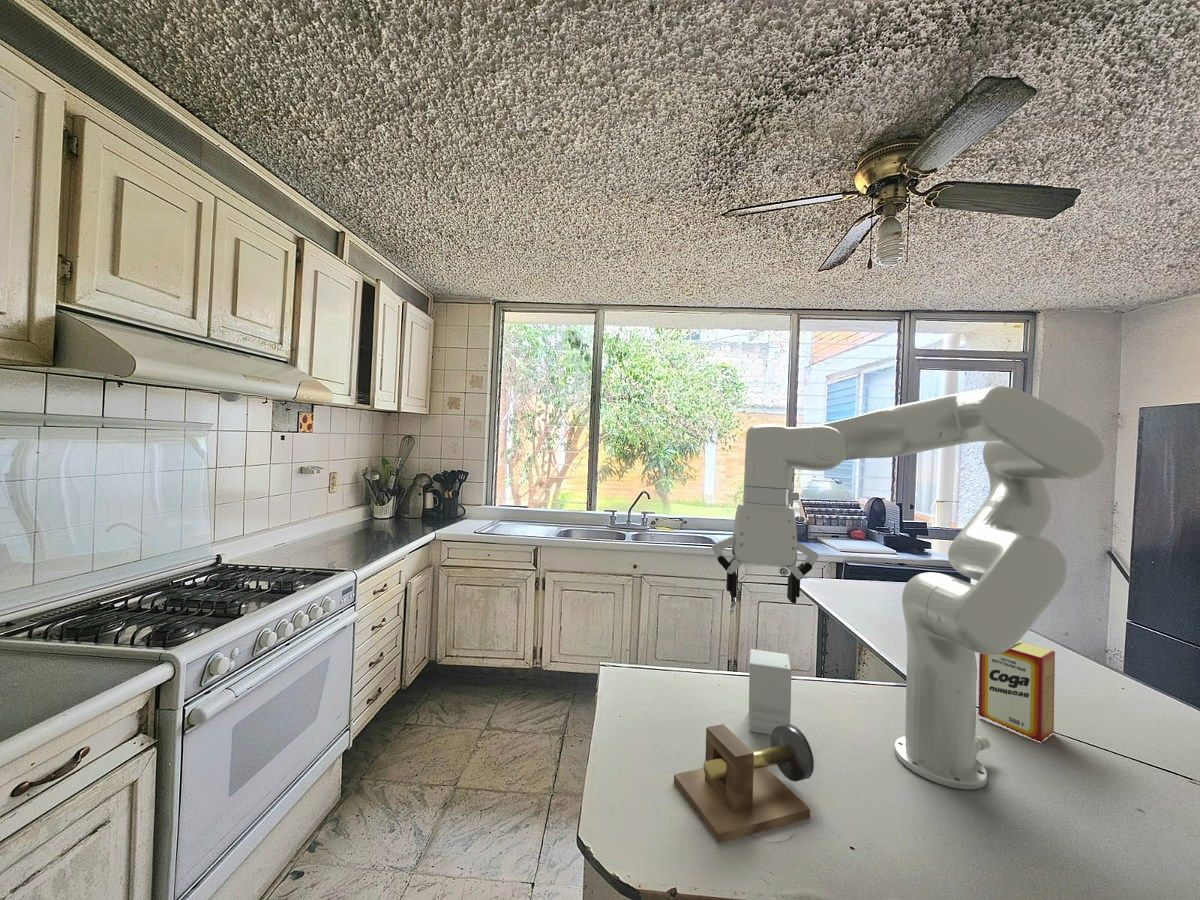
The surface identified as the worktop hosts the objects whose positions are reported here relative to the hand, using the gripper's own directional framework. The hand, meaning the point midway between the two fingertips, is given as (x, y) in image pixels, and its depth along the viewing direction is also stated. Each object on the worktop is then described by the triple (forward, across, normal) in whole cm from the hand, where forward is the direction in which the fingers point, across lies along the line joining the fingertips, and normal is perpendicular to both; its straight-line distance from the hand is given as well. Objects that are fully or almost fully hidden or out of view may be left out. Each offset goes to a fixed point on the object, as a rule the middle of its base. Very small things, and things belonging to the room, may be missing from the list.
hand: (761, 598), depth 80 cm
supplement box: (+27, -4, -10) cm, 29 cm away
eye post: (+27, +4, +11) cm, 29 cm away
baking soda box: (+26, -52, -20) cm, 62 cm away
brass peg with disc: (+25, +2, +10) cm, 27 cm away
